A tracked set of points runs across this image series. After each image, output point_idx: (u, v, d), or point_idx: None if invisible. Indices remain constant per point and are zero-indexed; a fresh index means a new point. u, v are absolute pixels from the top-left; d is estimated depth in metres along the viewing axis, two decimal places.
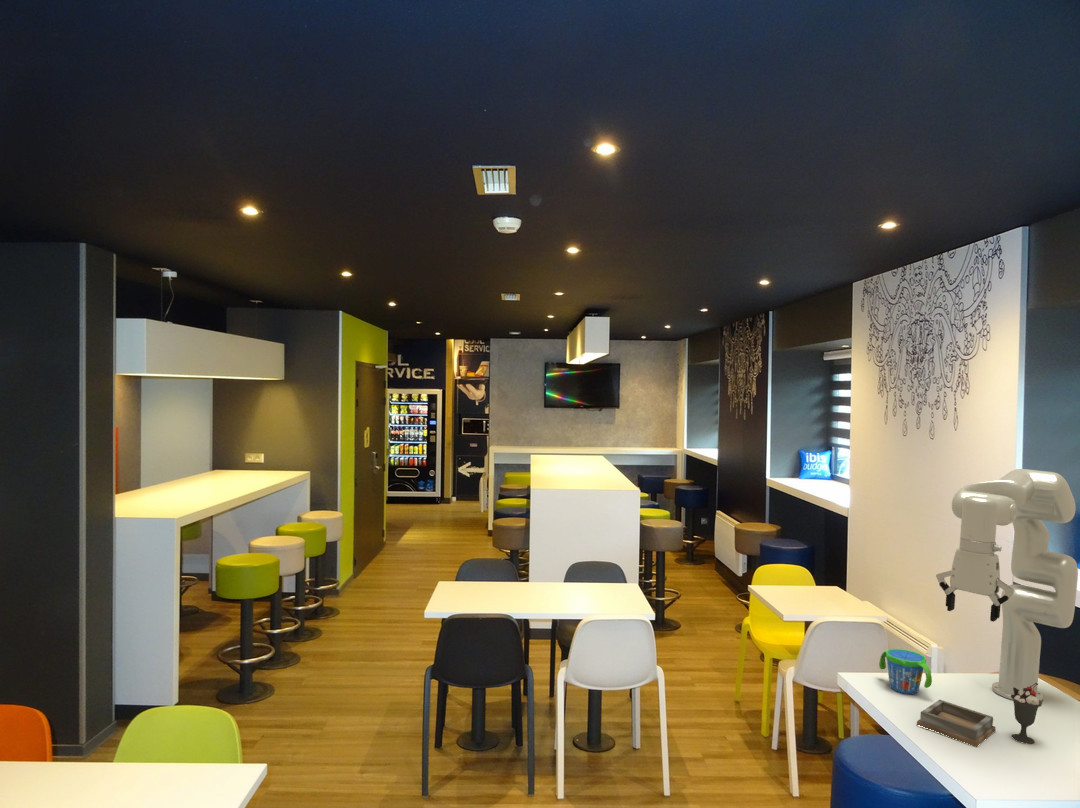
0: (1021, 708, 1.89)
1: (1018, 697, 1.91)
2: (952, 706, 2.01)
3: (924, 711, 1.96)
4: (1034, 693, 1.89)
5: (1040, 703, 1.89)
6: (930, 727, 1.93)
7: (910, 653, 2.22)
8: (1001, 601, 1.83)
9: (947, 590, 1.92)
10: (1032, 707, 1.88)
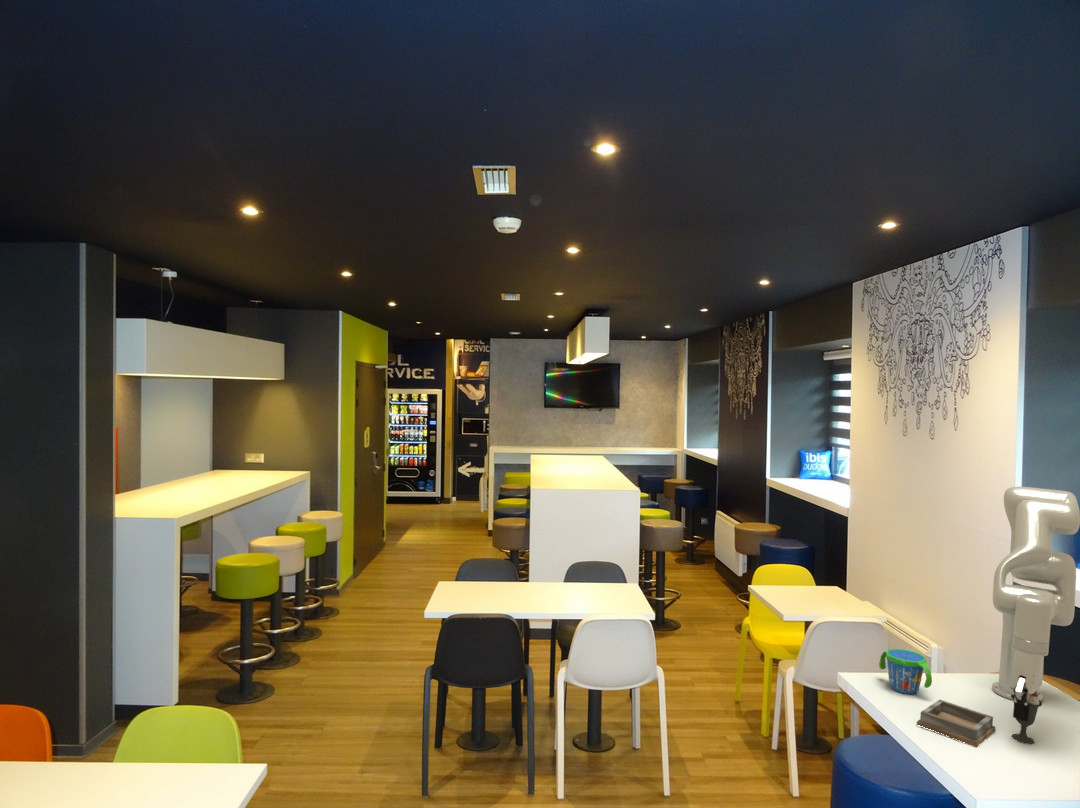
0: None
1: None
2: (952, 706, 2.01)
3: (924, 711, 1.96)
4: (1034, 693, 1.89)
5: (1040, 703, 1.89)
6: (930, 727, 1.93)
7: (910, 653, 2.22)
8: None
9: (1027, 701, 1.87)
10: (1032, 707, 1.88)
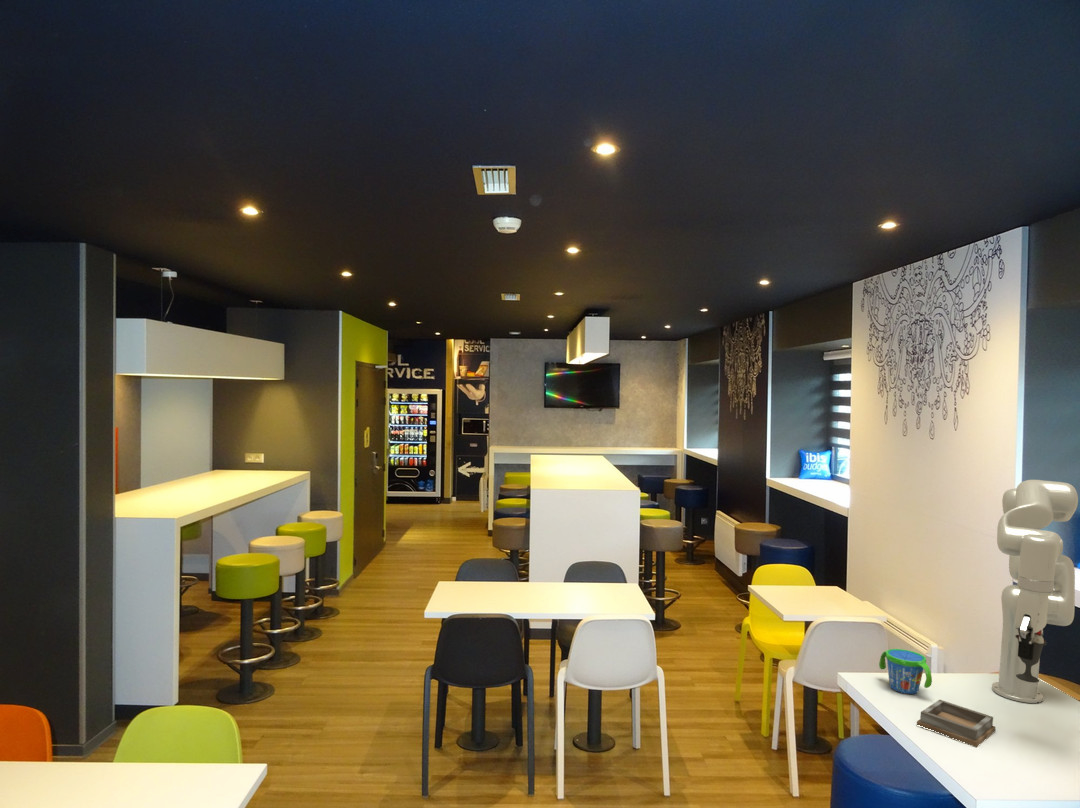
0: None
1: None
2: (952, 706, 2.01)
3: (924, 711, 1.96)
4: (1039, 632, 1.89)
5: (1045, 642, 1.89)
6: (930, 727, 1.93)
7: (910, 653, 2.22)
8: None
9: (1032, 640, 1.87)
10: (1037, 646, 1.88)
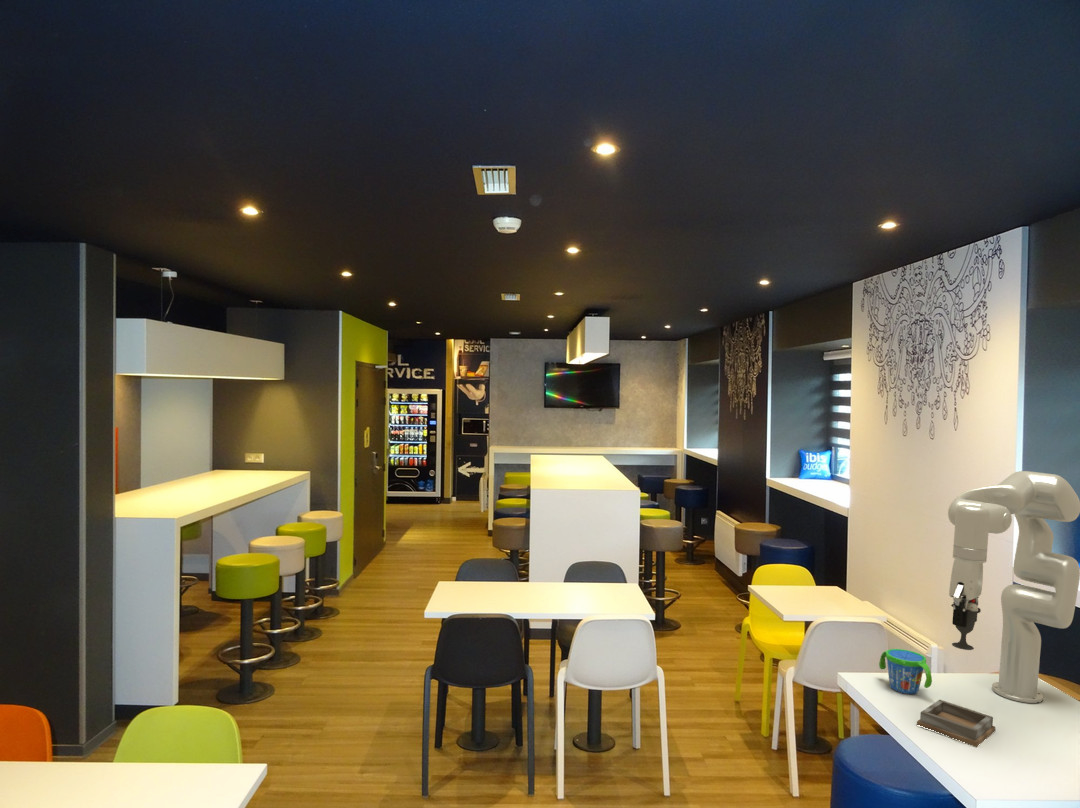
0: None
1: None
2: (952, 706, 2.01)
3: (924, 711, 1.96)
4: (973, 600, 1.92)
5: (979, 610, 1.93)
6: (930, 727, 1.93)
7: (910, 653, 2.22)
8: None
9: (965, 607, 1.90)
10: (971, 613, 1.92)
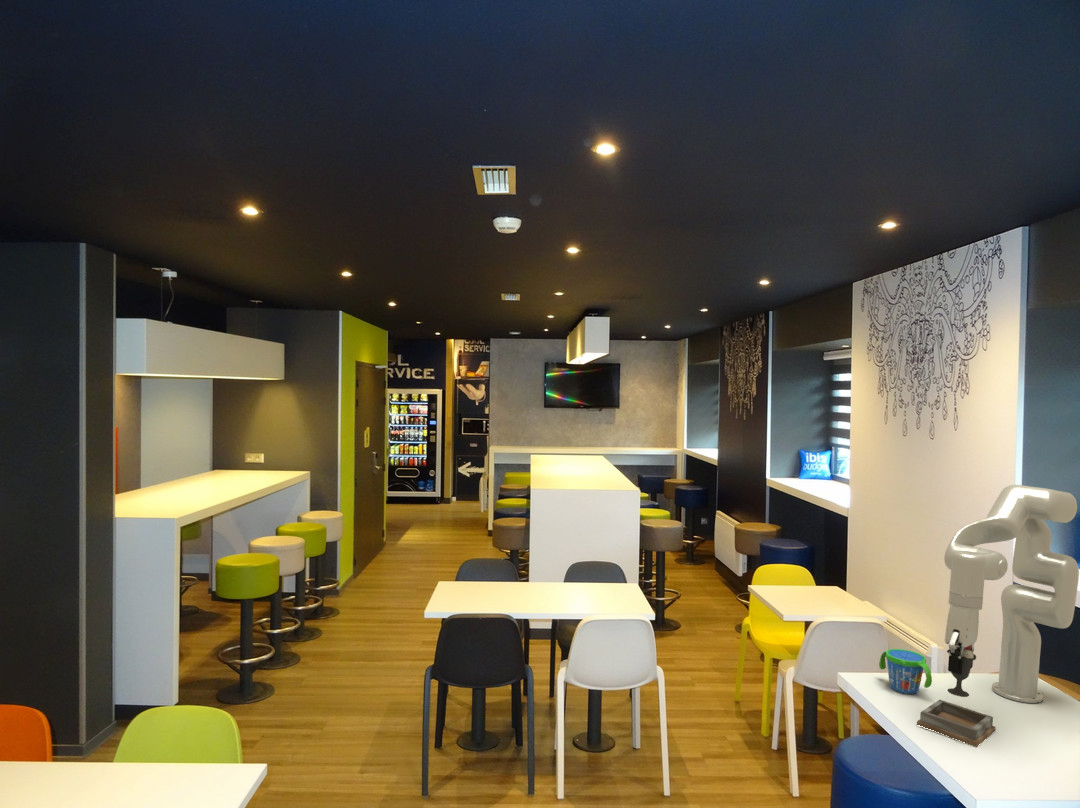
0: None
1: None
2: (952, 706, 2.01)
3: (924, 711, 1.96)
4: (969, 647, 1.93)
5: (974, 657, 1.93)
6: (930, 727, 1.93)
7: (910, 653, 2.22)
8: None
9: (961, 655, 1.91)
10: (966, 660, 1.92)
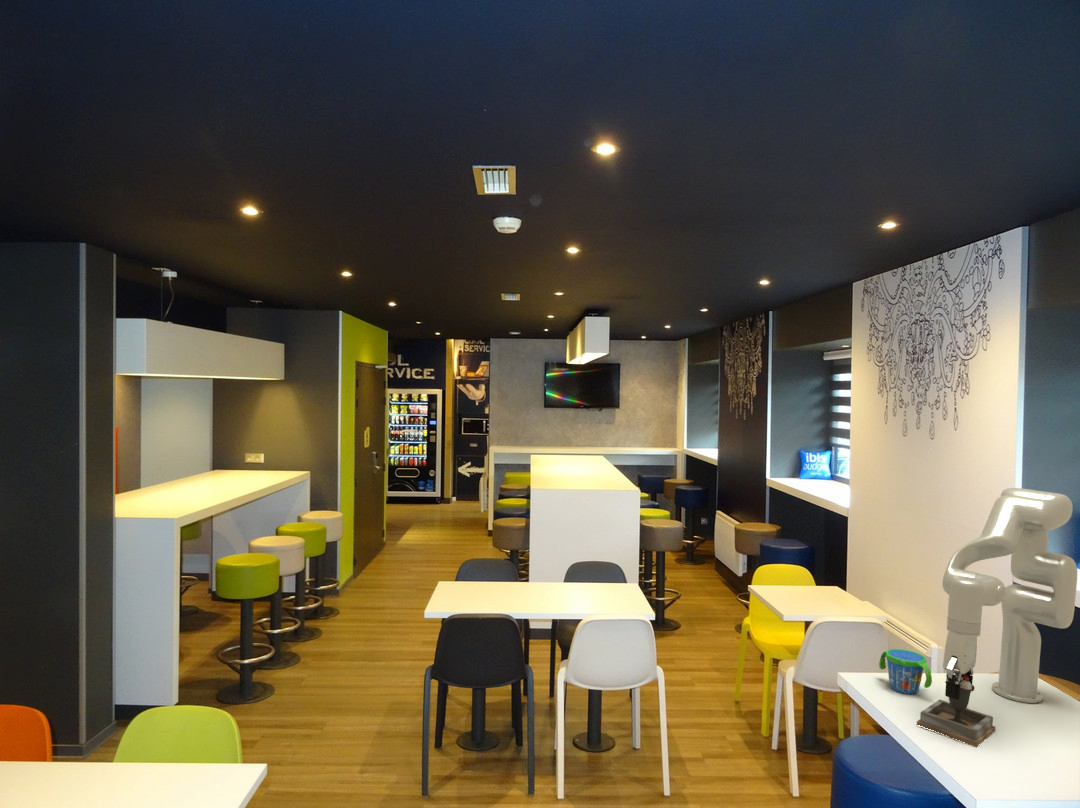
0: None
1: None
2: None
3: (924, 711, 1.96)
4: (967, 678, 1.93)
5: (973, 688, 1.93)
6: (930, 727, 1.93)
7: (910, 653, 2.22)
8: None
9: (958, 680, 1.91)
10: (965, 692, 1.93)
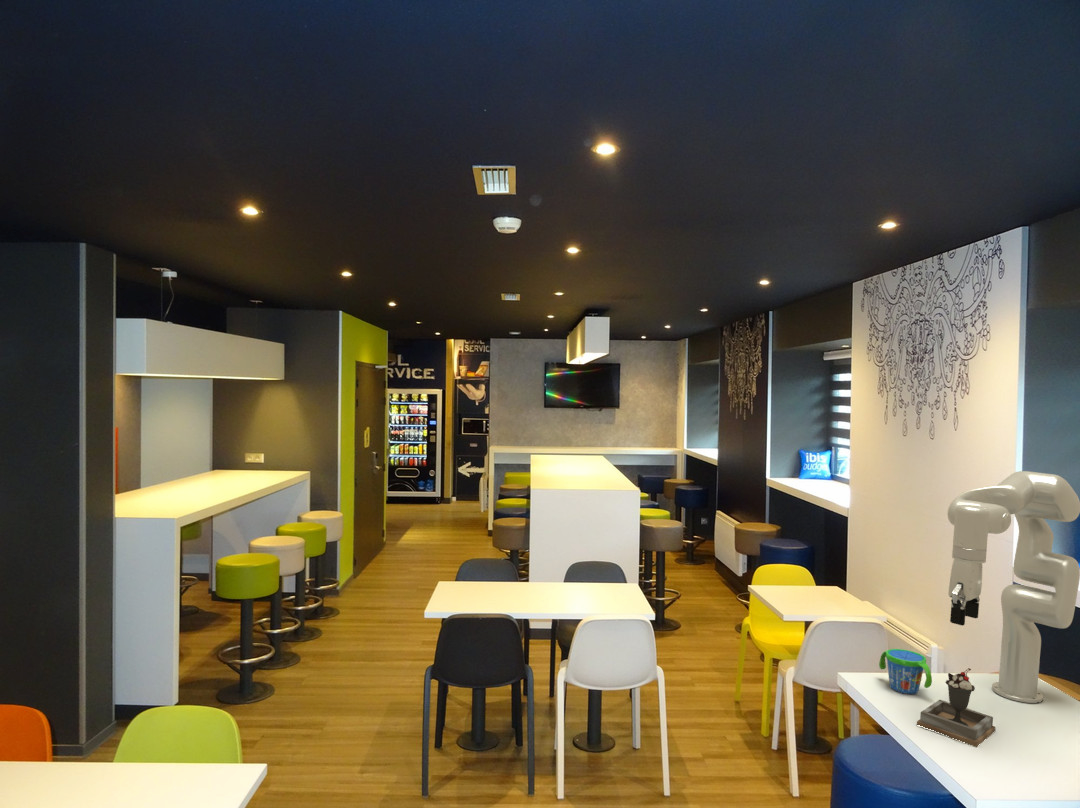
0: (955, 693, 1.94)
1: (952, 682, 1.95)
2: None
3: (924, 711, 1.96)
4: (967, 678, 1.93)
5: (973, 688, 1.93)
6: (930, 727, 1.93)
7: (910, 653, 2.22)
8: None
9: (963, 605, 1.90)
10: (965, 692, 1.93)
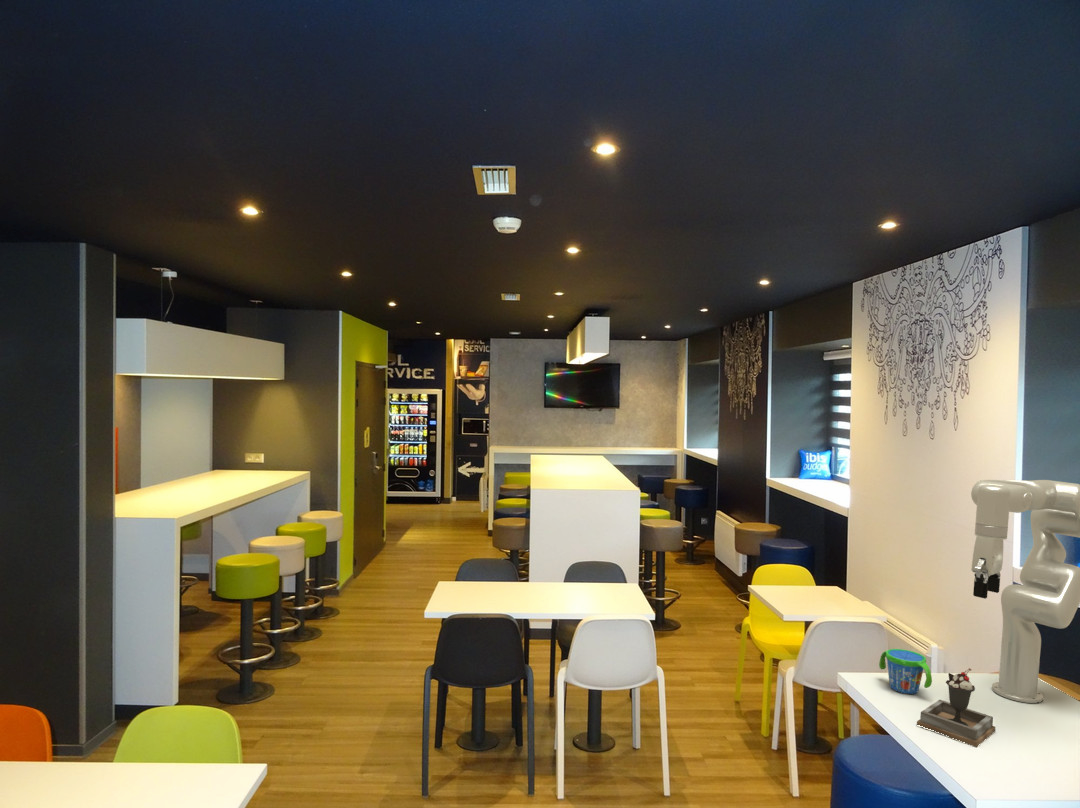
0: (955, 693, 1.94)
1: (952, 682, 1.95)
2: None
3: (924, 711, 1.96)
4: (967, 678, 1.93)
5: (973, 688, 1.93)
6: (930, 727, 1.93)
7: (910, 653, 2.22)
8: None
9: (986, 579, 2.00)
10: (965, 692, 1.92)
